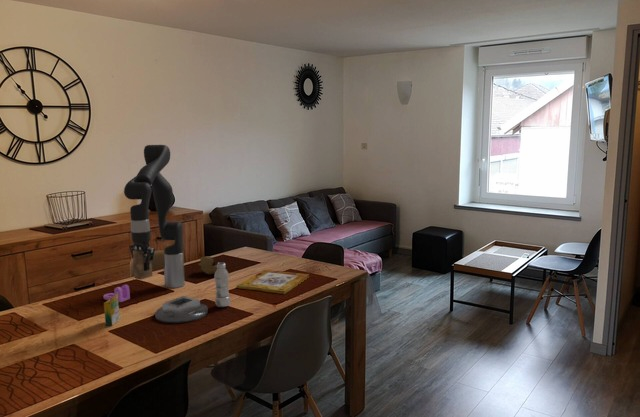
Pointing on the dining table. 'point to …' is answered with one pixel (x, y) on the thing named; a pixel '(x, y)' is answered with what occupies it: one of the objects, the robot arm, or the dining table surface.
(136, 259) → the tan rectangular block
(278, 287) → the picture frame
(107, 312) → the crayon box
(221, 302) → the plastic bottle
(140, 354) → the dining table surface
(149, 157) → the robot arm
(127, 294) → the bracket
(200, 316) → the grey round socket base
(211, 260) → the wooden carving
